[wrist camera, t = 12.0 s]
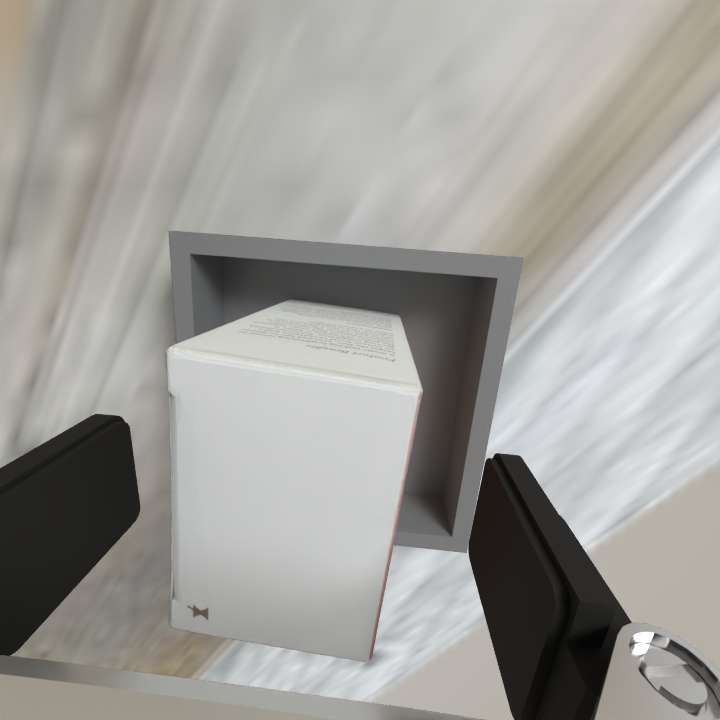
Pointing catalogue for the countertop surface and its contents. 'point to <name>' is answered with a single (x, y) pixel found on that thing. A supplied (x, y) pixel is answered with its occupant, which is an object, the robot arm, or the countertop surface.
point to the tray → (423, 332)
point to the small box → (289, 475)
